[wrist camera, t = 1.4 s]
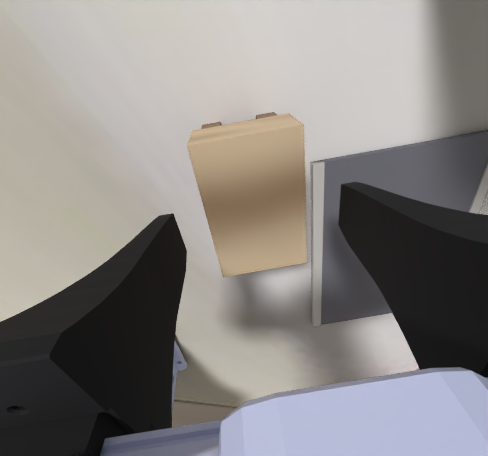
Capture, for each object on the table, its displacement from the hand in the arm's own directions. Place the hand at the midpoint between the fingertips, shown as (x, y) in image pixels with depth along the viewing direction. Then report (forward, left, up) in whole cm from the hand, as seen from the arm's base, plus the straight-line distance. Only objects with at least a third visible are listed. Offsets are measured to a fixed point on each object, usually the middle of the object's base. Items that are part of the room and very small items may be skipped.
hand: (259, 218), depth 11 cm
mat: (-8, -10, -6) cm, 14 cm away
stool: (0, 0, -6) cm, 6 cm away
